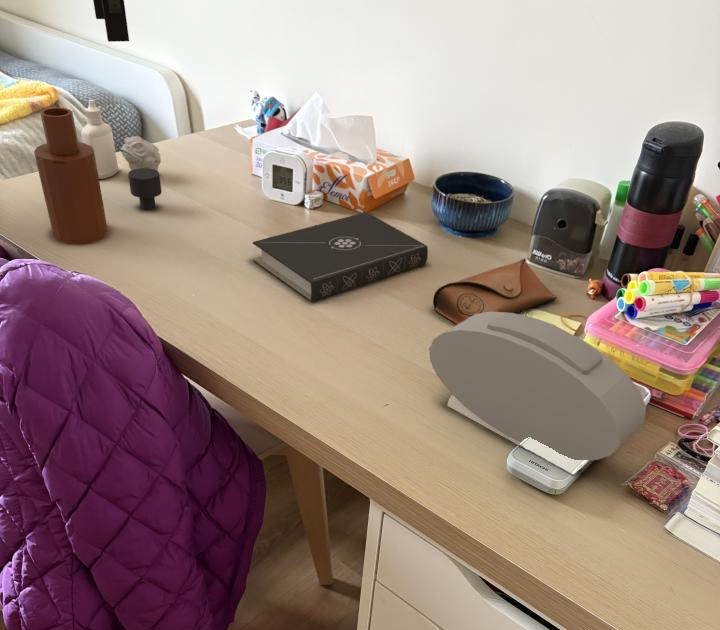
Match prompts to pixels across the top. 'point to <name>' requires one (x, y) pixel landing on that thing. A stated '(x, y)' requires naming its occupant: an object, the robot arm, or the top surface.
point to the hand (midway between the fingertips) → (112, 29)
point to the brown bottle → (70, 181)
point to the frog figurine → (140, 153)
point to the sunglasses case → (492, 293)
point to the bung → (145, 186)
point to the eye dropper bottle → (100, 142)
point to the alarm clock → (537, 384)
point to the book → (339, 255)
